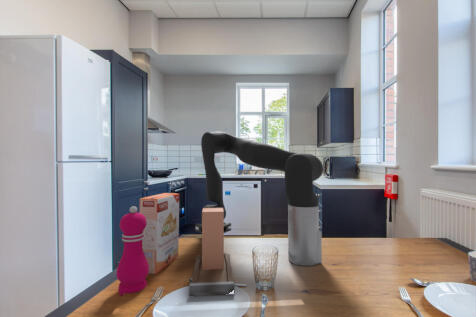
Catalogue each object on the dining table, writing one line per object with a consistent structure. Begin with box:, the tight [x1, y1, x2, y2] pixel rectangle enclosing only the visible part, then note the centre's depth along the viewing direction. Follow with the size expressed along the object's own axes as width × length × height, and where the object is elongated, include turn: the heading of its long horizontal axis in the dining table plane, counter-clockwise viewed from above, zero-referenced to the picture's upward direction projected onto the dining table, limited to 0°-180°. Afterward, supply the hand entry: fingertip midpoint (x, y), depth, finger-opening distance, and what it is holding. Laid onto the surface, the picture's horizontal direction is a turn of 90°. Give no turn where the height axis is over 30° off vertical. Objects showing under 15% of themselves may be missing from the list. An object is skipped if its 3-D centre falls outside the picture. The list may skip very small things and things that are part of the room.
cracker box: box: [138, 192, 180, 275], centre depth 75 cm, size 14×6×21 cm, turn 168°
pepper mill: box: [115, 205, 149, 296], centre depth 61 cm, size 7×7×20 cm
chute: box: [188, 253, 235, 298], centre depth 68 cm, size 10×22×3 cm, turn 5°
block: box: [201, 207, 225, 270], centre depth 74 cm, size 6×6×16 cm
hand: (213, 234), depth 79 cm, fingers closed
